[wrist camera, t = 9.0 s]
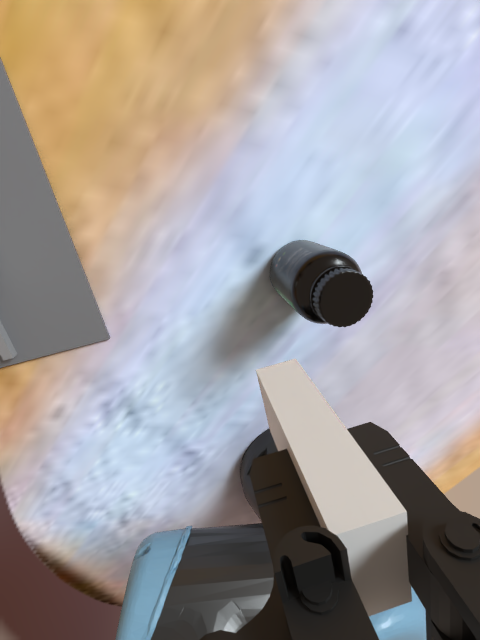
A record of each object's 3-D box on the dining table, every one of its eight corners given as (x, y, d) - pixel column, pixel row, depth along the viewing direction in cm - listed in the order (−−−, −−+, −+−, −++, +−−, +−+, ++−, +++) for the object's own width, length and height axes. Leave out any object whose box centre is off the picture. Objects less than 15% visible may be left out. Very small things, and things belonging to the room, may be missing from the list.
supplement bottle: (272, 304, 40) (309, 347, 29) (264, 245, 38) (301, 267, 27) (328, 292, 41) (386, 329, 30) (324, 233, 38) (384, 249, 27)
